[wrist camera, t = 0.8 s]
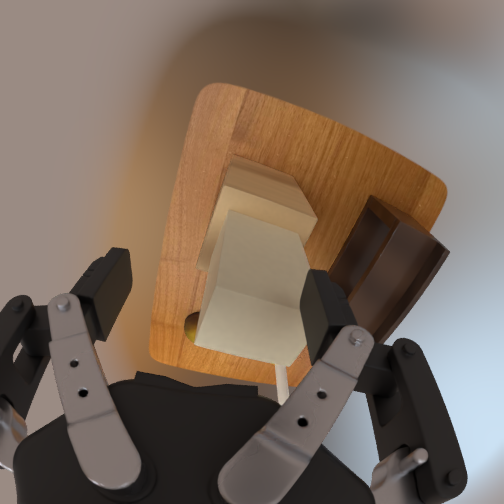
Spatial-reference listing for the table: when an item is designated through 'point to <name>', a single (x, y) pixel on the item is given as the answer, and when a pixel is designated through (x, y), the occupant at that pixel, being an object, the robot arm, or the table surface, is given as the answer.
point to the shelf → (386, 267)
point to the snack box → (254, 292)
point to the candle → (281, 383)
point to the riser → (258, 203)
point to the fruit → (191, 326)
